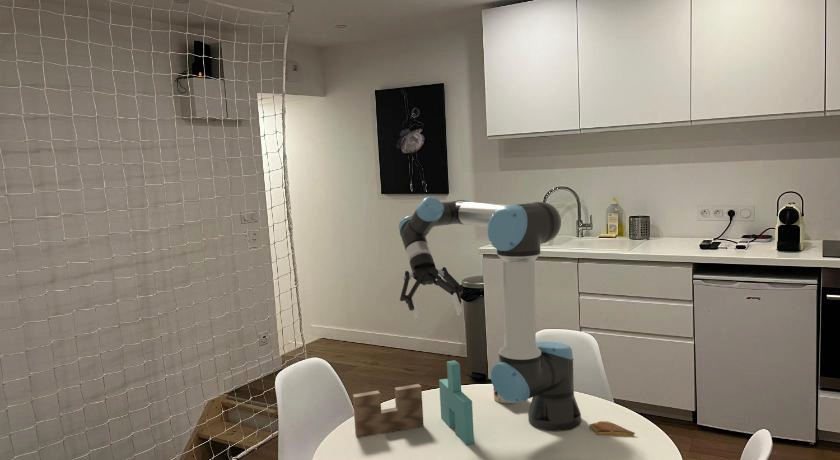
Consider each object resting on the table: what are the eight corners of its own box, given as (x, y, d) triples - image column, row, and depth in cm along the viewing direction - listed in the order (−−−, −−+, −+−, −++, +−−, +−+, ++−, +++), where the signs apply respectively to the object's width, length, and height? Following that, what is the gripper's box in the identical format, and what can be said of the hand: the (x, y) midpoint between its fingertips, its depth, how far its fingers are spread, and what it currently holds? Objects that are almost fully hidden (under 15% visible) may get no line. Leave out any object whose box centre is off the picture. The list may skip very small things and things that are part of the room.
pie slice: (635, 438, 170) (635, 431, 170) (615, 445, 167) (614, 438, 167) (606, 424, 180) (605, 418, 180) (586, 431, 176) (585, 425, 176)
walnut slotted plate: (421, 422, 188) (418, 383, 186) (423, 425, 185) (421, 386, 184) (355, 434, 182) (352, 394, 181) (357, 437, 179) (354, 397, 178)
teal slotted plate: (441, 418, 190) (437, 354, 188) (448, 416, 191) (445, 352, 189) (465, 444, 171) (462, 373, 169) (474, 443, 172) (470, 372, 170)
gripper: (453, 262, 207) (473, 317, 194) (380, 269, 198) (397, 327, 186) (459, 248, 201) (480, 304, 189) (385, 255, 193) (401, 314, 181)
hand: (439, 316), depth 187 cm, fingers open, 13 cm apart
